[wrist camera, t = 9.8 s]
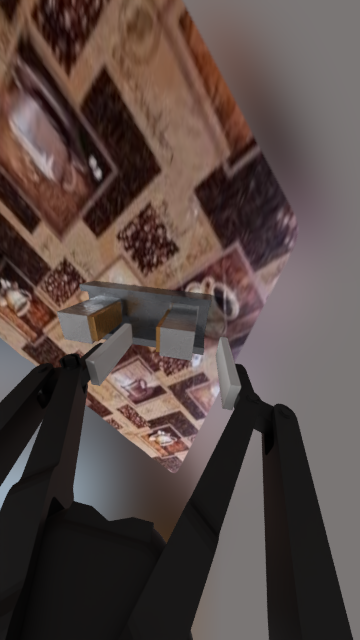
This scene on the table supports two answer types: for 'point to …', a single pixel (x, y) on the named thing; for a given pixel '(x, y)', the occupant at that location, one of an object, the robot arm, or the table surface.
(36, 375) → the robot arm
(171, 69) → the table surface
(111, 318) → the rail
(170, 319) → the grey rectangular block
